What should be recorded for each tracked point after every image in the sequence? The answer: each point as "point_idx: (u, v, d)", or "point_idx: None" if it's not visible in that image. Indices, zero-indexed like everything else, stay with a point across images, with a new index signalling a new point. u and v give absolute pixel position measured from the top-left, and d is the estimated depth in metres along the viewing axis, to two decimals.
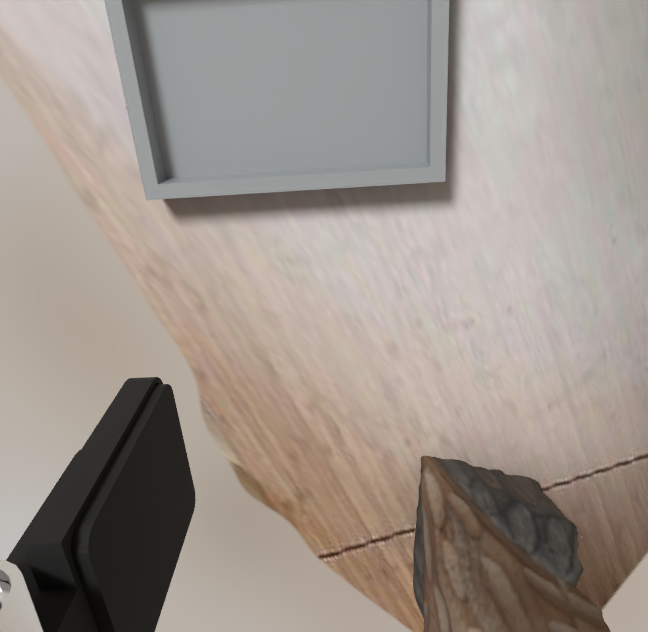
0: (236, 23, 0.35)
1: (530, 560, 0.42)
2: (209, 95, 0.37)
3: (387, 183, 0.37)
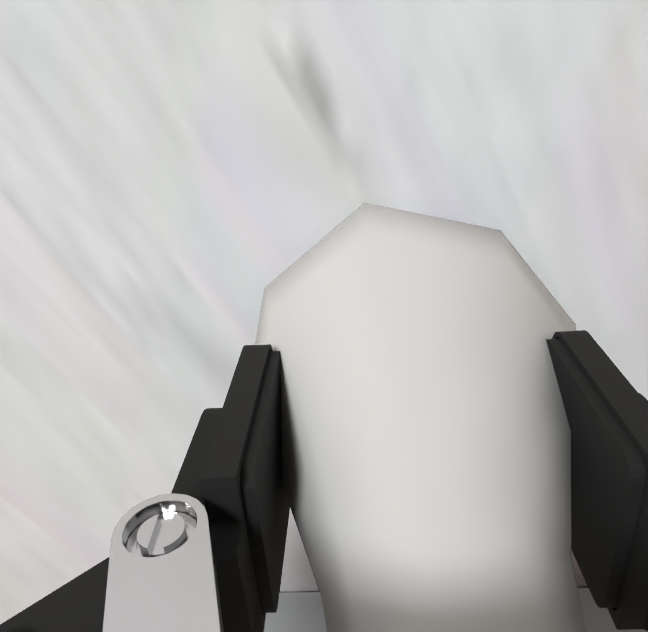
0: None
1: None
2: None
3: None
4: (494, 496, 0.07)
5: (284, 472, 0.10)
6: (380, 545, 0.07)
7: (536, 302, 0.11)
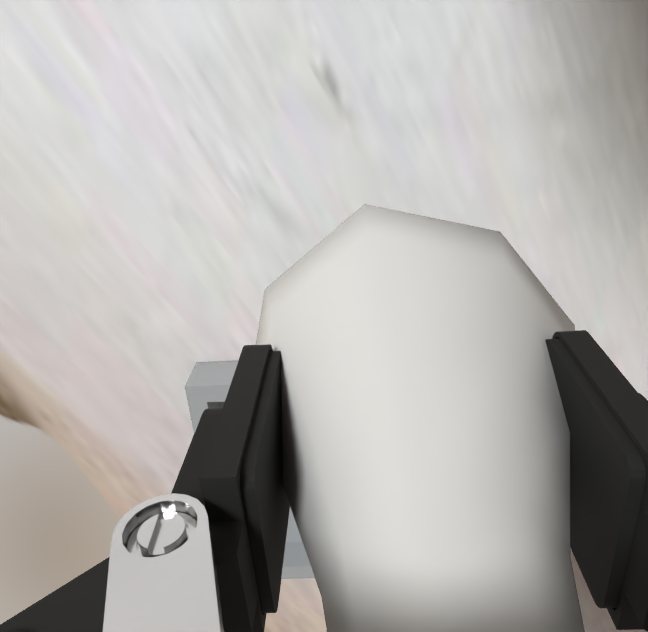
0: None
1: None
2: None
3: None
4: (494, 497, 0.07)
5: (284, 472, 0.10)
6: (381, 546, 0.07)
7: (535, 303, 0.11)
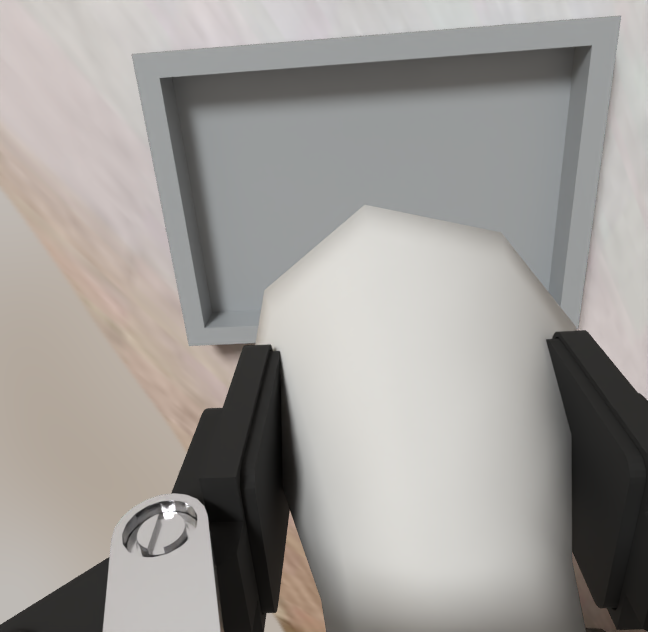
0: (312, 130, 0.27)
1: None
2: (272, 216, 0.29)
3: None
4: (496, 500, 0.07)
5: (284, 475, 0.10)
6: (381, 550, 0.07)
7: (536, 304, 0.11)
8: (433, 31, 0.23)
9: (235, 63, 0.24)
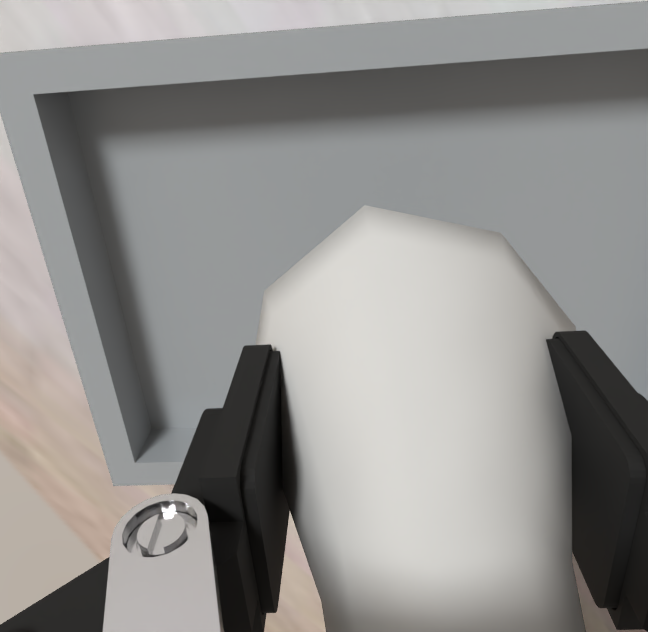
0: (293, 174, 0.17)
1: None
2: (235, 300, 0.19)
3: None
4: (496, 501, 0.07)
5: (284, 475, 0.10)
6: (381, 550, 0.07)
7: (536, 305, 0.11)
8: (497, 15, 0.13)
9: (158, 70, 0.14)
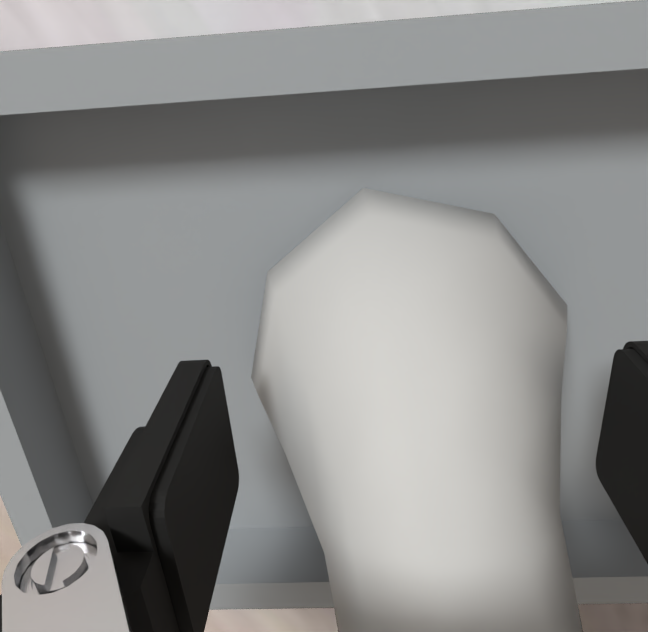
0: (275, 224, 0.13)
1: None
2: None
3: None
4: (487, 453, 0.08)
5: (288, 444, 0.11)
6: (379, 498, 0.07)
7: (528, 282, 0.12)
8: (569, 8, 0.09)
9: (74, 88, 0.10)
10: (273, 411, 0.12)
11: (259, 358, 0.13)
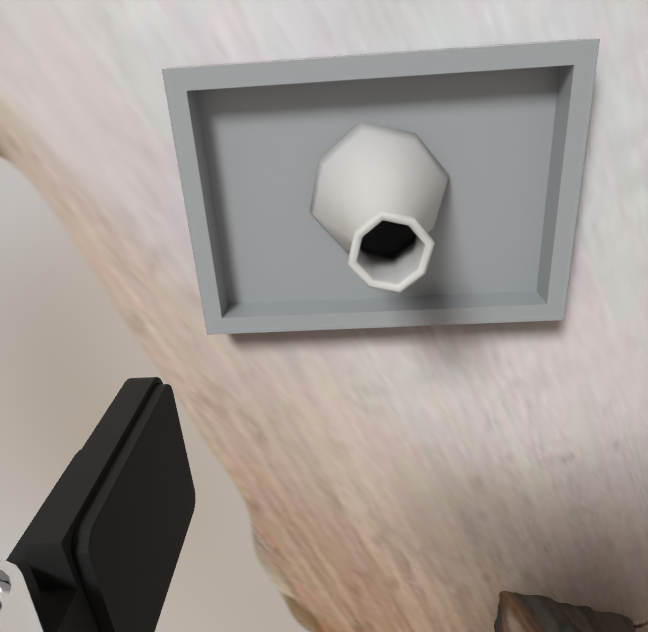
0: (323, 138, 0.30)
1: None
2: (285, 216, 0.31)
3: (494, 321, 0.32)
4: (398, 192, 0.24)
5: (330, 218, 0.28)
6: (365, 203, 0.24)
7: (428, 159, 0.29)
8: (432, 51, 0.26)
9: (254, 78, 0.27)
10: (323, 213, 0.29)
11: (314, 199, 0.30)
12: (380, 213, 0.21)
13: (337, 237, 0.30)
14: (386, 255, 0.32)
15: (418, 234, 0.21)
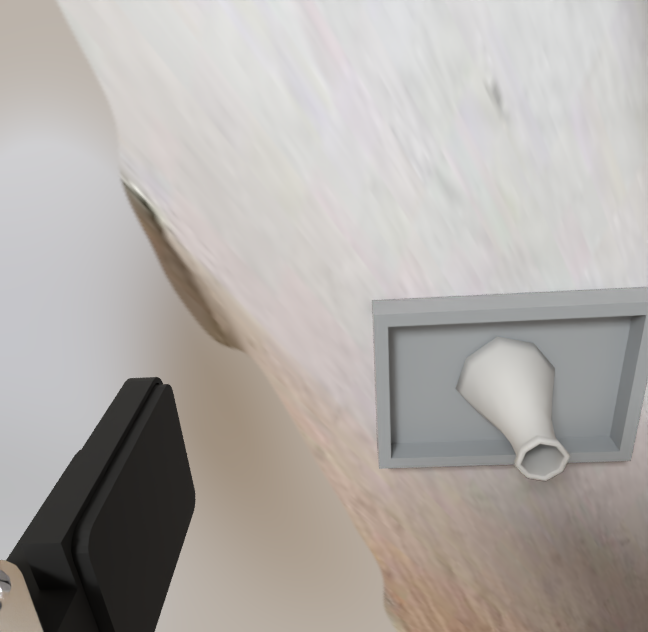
0: (469, 344, 0.43)
1: None
2: (437, 390, 0.45)
3: (582, 461, 0.46)
4: (536, 406, 0.38)
5: (481, 407, 0.42)
6: (516, 415, 0.38)
7: (543, 363, 0.42)
8: (554, 307, 0.40)
9: (434, 320, 0.41)
10: (472, 399, 0.43)
11: (461, 383, 0.44)
12: (539, 441, 0.35)
13: (479, 411, 0.44)
14: None
15: (561, 451, 0.35)
